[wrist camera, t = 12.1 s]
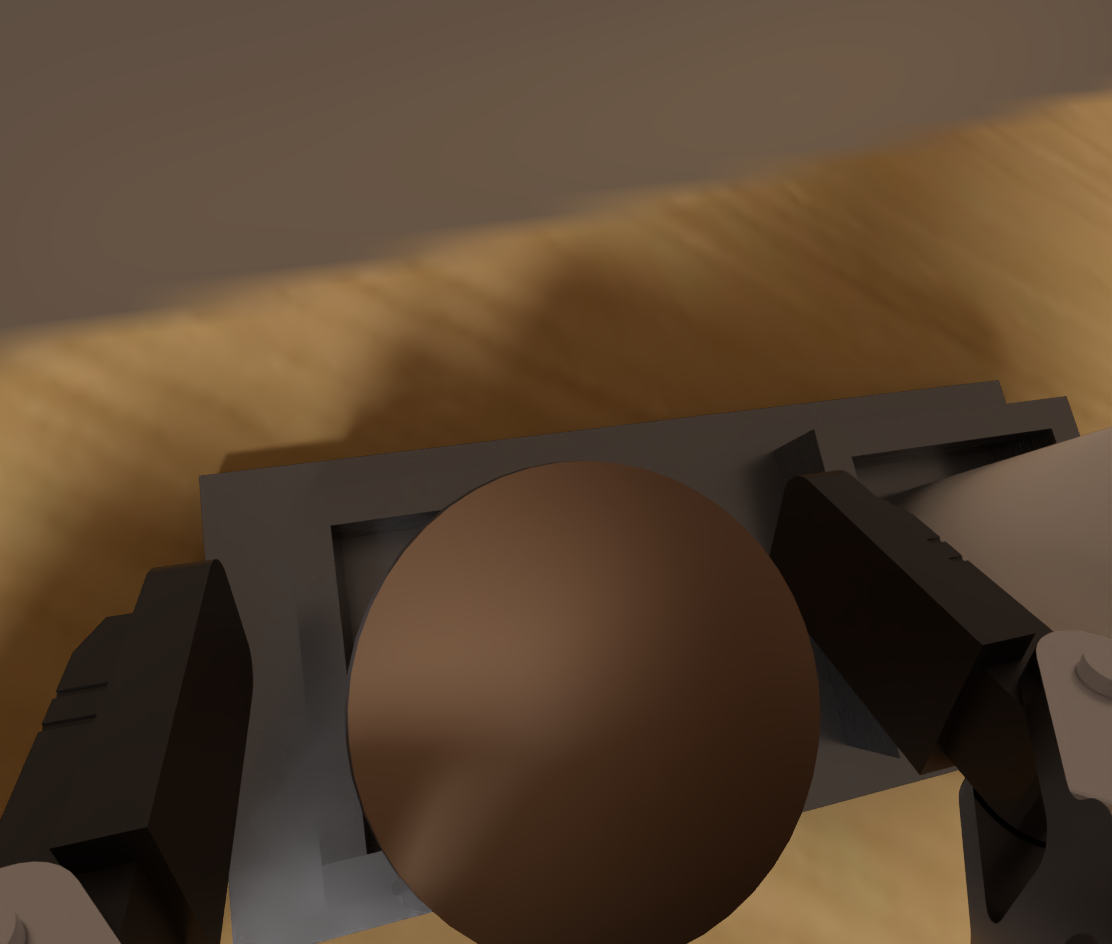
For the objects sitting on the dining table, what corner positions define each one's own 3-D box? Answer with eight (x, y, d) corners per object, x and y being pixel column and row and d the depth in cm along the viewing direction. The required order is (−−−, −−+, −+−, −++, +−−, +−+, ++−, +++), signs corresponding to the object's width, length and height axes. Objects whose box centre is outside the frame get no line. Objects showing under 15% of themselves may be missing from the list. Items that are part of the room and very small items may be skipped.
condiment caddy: (246, 943, 15) (204, 1018, 12) (211, 485, 17) (168, 452, 14) (1077, 724, 19) (1190, 739, 17) (972, 391, 21) (1057, 353, 19)
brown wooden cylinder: (407, 780, 15) (371, 1045, 5) (384, 574, 16) (318, 485, 6) (605, 739, 16) (875, 901, 6) (573, 546, 17) (767, 431, 7)
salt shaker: (884, 666, 18) (1238, 687, 10) (841, 500, 19) (1136, 403, 11) (1024, 635, 19) (1442, 633, 11) (975, 478, 20) (1332, 375, 12)
